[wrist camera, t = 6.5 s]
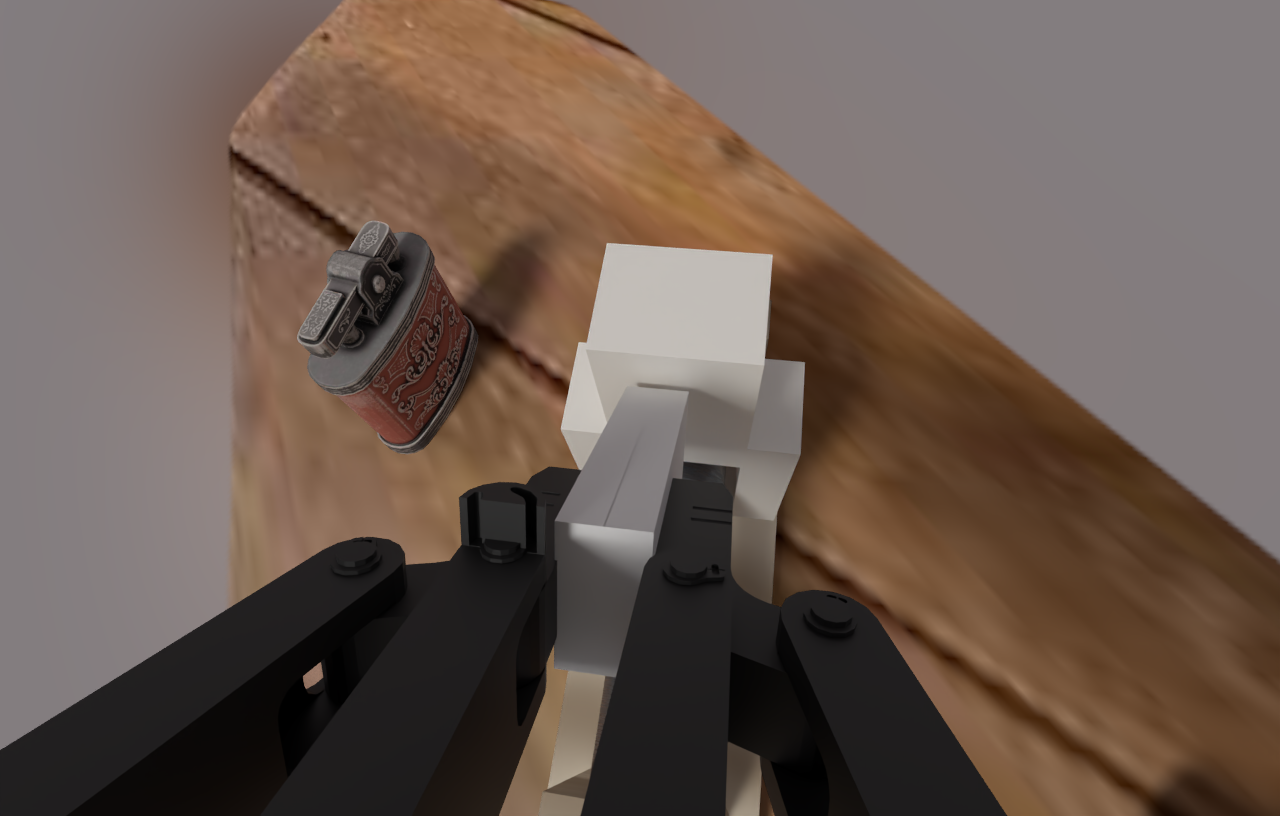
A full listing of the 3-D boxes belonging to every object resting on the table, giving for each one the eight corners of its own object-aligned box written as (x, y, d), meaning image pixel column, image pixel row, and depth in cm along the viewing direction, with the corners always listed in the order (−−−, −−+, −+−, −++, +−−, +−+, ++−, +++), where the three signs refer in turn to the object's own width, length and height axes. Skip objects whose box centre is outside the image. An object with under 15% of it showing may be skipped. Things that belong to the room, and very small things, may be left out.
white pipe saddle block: (773, 520, 25) (834, 371, 14) (592, 499, 26) (521, 343, 15) (777, 447, 26) (837, 259, 16) (605, 429, 27) (547, 239, 16)
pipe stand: (753, 846, 26) (789, 924, 16) (550, 810, 27) (470, 862, 17) (779, 419, 33) (815, 297, 23) (620, 403, 34) (591, 279, 24)
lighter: (436, 315, 37) (353, 184, 28) (491, 328, 36) (424, 200, 27) (369, 444, 34) (251, 344, 25) (427, 461, 33) (329, 366, 24)
